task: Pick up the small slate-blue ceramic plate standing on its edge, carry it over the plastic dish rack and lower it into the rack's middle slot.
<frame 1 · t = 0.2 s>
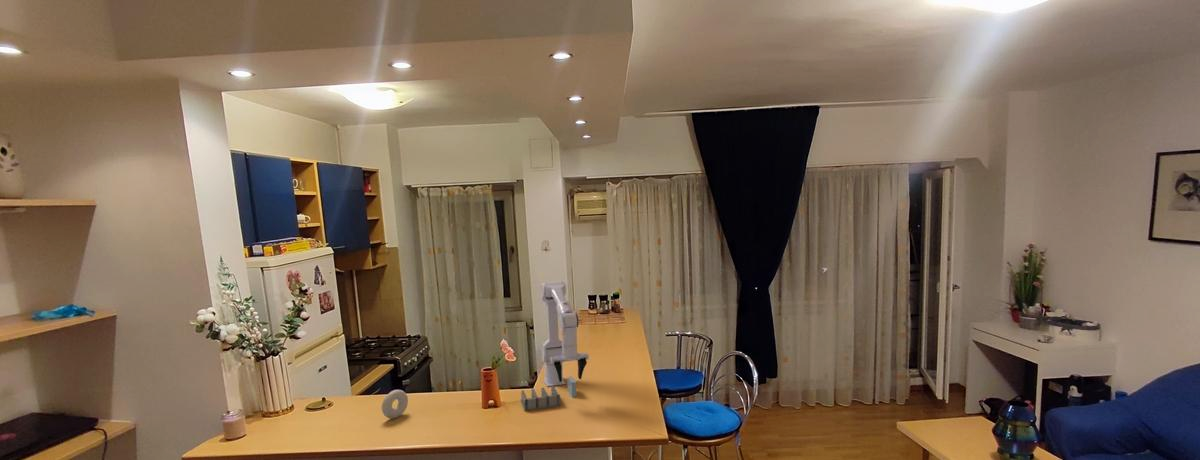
hand: (570, 379, 177), 10 cm above the counter, fingers open, 7 cm apart
plate: (572, 394, 188), on the counter
donut: (395, 418, 169), on the counter
rack: (540, 403, 179), on the counter
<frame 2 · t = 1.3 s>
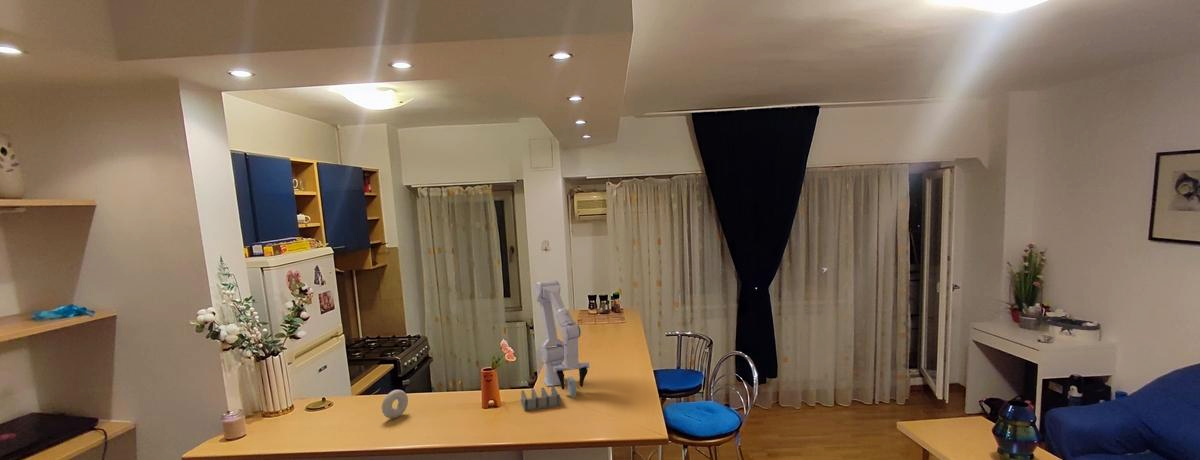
hand: (572, 387, 188), 3 cm above the counter, fingers open, 7 cm apart
nothing on the counter moved.
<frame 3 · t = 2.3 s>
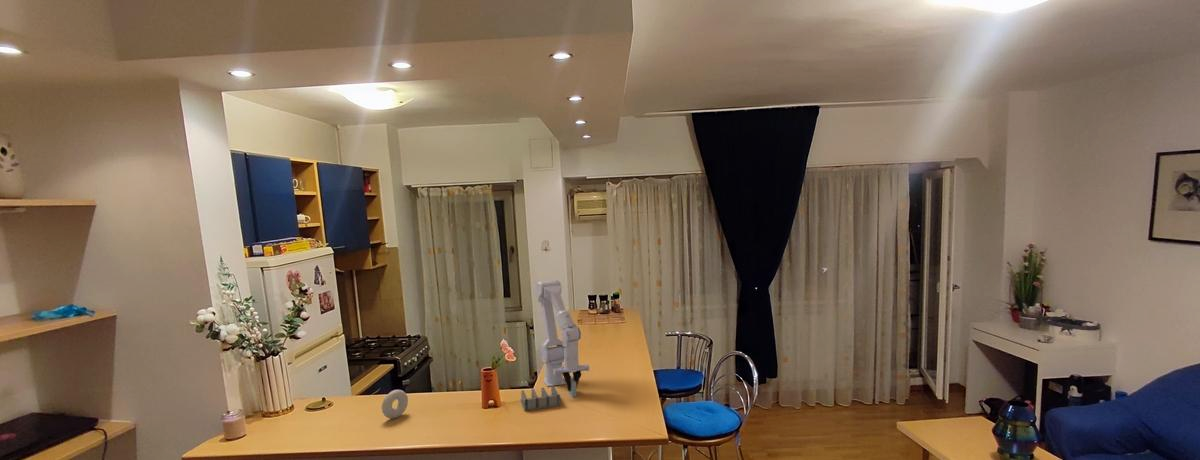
hand: (572, 389, 188), 2 cm above the counter, fingers closed on plate, 2 cm apart
plate: (572, 393, 188), on the counter, touching gripper
everything else where it was.
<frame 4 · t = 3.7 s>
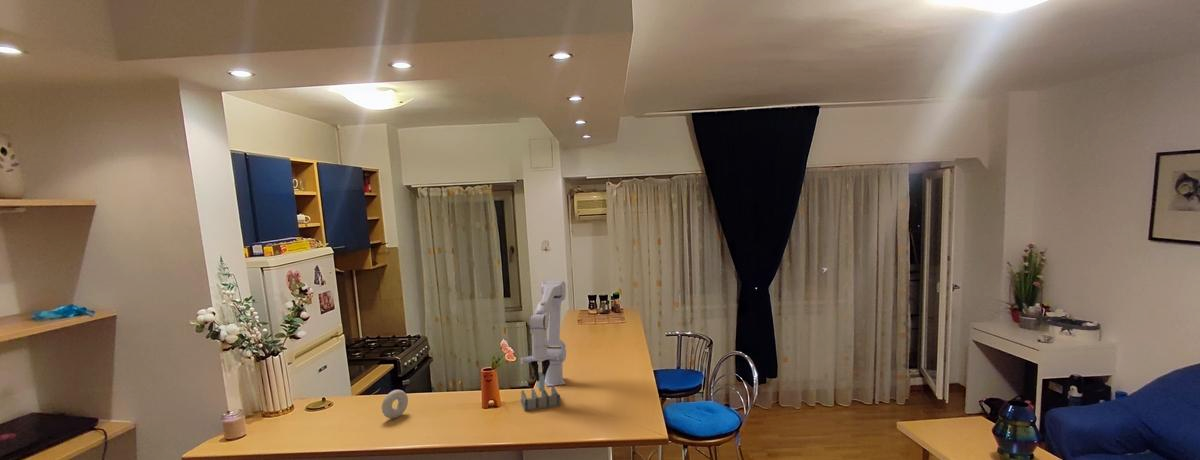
hand: (540, 379, 180), 9 cm above the counter, fingers closed on plate
plate: (540, 388, 180), point 6 cm above the counter, touching gripper
everything else where it was.
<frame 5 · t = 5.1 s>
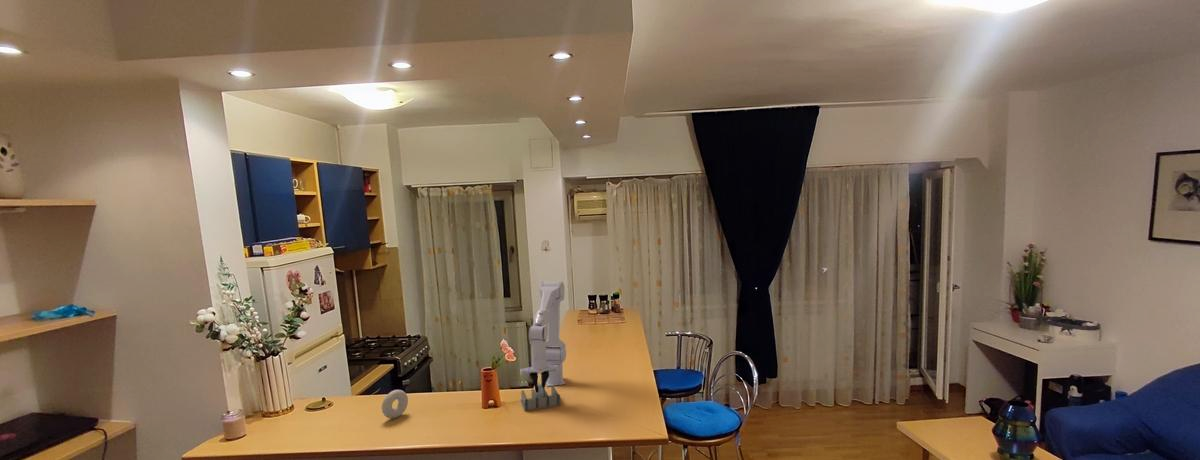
hand: (539, 391, 180), 5 cm above the counter, fingers closed on plate, 2 cm apart
plate: (539, 401, 180), point 1 cm above the counter, touching gripper, rack
everything else where it was.
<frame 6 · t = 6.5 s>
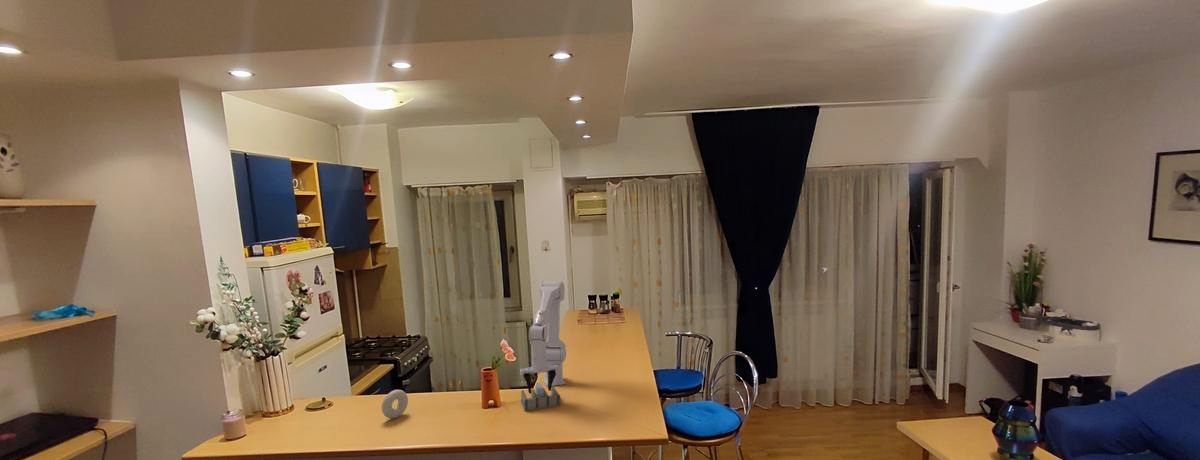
hand: (539, 391, 180), 5 cm above the counter, fingers open, 7 cm apart
plate: (539, 401, 180), point 1 cm above the counter, touching rack
everything else where it was.
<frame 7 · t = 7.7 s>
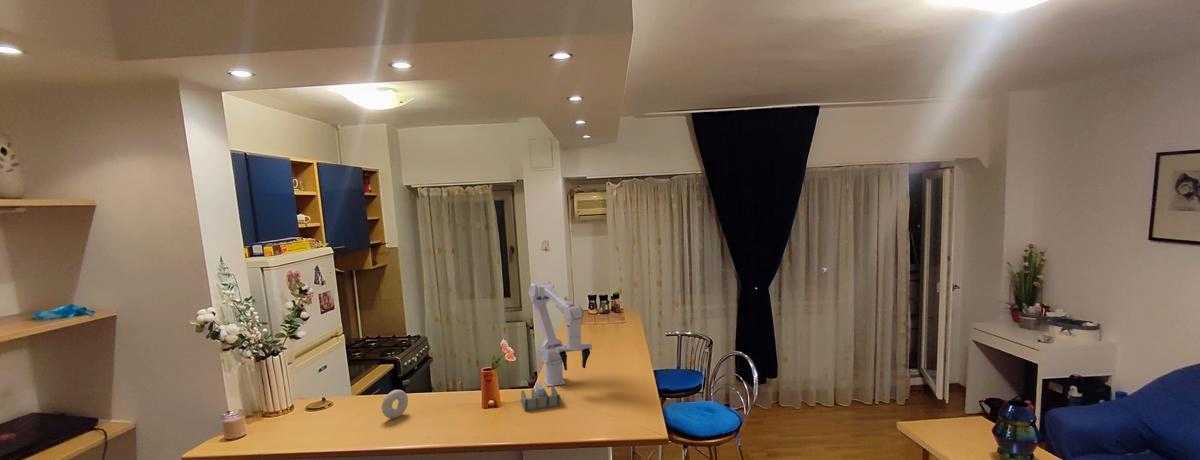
hand: (574, 368, 189), 10 cm above the counter, fingers open, 7 cm apart
nothing on the counter moved.
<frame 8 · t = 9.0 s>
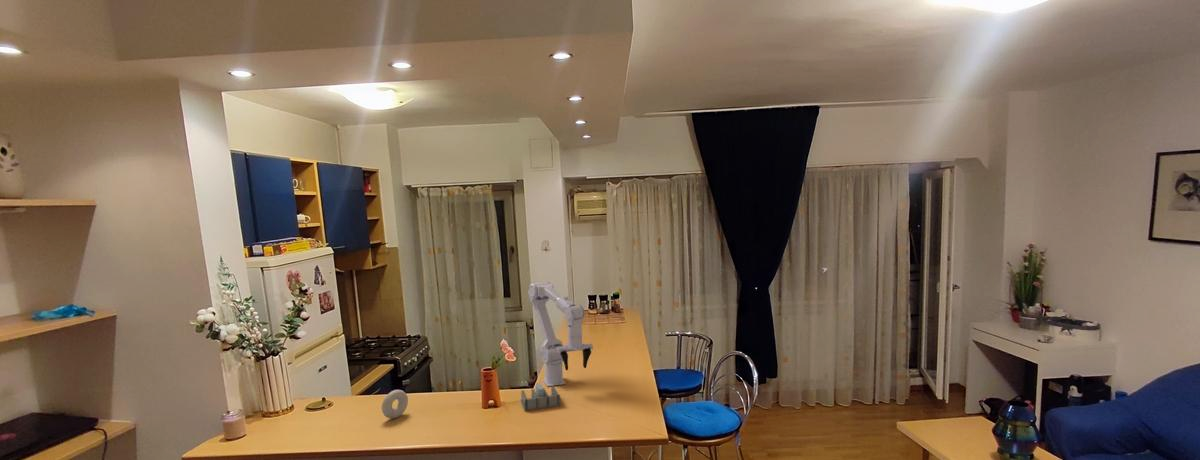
hand: (575, 368, 190), 10 cm above the counter, fingers open, 7 cm apart
nothing on the counter moved.
at the end: plate 0.2 cm off-centre on the rack, point 0.6 cm above the rack's base; plate tilted 0°; the gripper is holding nothing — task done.
